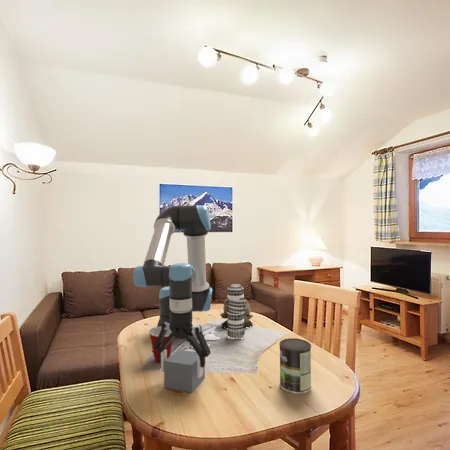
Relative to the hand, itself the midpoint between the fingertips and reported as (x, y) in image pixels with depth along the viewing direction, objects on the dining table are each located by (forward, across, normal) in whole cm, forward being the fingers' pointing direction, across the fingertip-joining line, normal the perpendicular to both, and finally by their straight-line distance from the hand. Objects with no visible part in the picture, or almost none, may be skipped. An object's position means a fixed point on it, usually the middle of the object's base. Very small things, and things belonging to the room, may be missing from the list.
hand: (181, 373), depth 106 cm
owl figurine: (+5, -2, +66) cm, 66 cm away
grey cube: (+4, 0, +2) cm, 4 cm away
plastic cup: (+5, -17, +16) cm, 23 cm away
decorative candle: (+5, +3, +50) cm, 50 cm away
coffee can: (+4, +36, +12) cm, 38 cm away
